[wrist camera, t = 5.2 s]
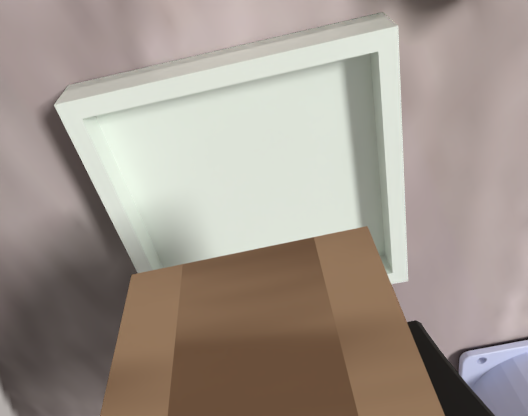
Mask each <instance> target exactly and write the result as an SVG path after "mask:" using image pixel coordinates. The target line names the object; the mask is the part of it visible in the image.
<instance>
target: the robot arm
mask: <svg viewBox="0 0 528 416" xmlns="http://www.w3.org/2000/svg"><path fill="white" fill-rule="evenodd" d="M407 324H408V326H409V329H410V331H411V334H412V336H413V339H414V341H415V344H416V346H417V348H418V351H419V353H420V356H421V358H422V361H423V363H424V366H425V368H426V370H427V373H428V375H429V378H430V380H431V383H432V385H433V388H434V390H435V392H436V395H437V397H438V400H439V402H440V405H441V407H442V410H443V412H444V414H445V416H528V340H524V341H518V342H513V343H508V344H502V345H497V346H492V347H486V348H481V349H476V350H470V351H467V352H464V353H463V354H462V355H461V356H460V359H459V374H458V372H457V371H456V370H455V369H454V367H453V366H452V365H451V364H450V362H449V361H448V360H447V359H446V357H445V356H444V355H443V353H442V352H441V351H440V350H439V348H438V347H437V346H436V344H435V343H434V341H433V340H432V339H431V337H430V336H429V334H428V333H427V332H426V330H425V329H424V327H423V326H422V324H421V323H420V322H418V321H411V322H407Z"/></svg>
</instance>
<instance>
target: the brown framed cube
mask: <svg viewBox="0 0 528 416" xmlns="http://www.w3.org/2000/svg"><path fill="white" fill-rule="evenodd" d="M100 416H445V414H444V412H443V410H442V407H441V405H440V402H439V400H438V397H437V395H436V392H435V390H434V388H433V385H432V383H431V380H430V378H429V375H428V373H427V370H426V368H425V366H424V363H423V361H422V358H421V356H420V353H419V351H418V348H417V346H416V344H415V341H414V339H413V336H412V334H411V331H410V329H409V326H408V324H407V322H406V319H405V317H404V314H403V312H402V309H401V307H400V304H399V302H398V299H397V297H396V295H395V292H394V290H393V287H392V285H391V282H390V280H389V277H388V275H387V273H386V270H385V268H384V265H383V263H382V260H381V258H380V255H379V253H378V251H377V248H376V246H375V243H374V241H373V238H372V236H371V233H370V231H369V229H368V226H365V227H360V228H356V229H351V230H346V231H341V232H336V233H331V234H326V235H322V236H317V237H312V238H307V239H302V240H297V241H292V242H288V243H283V244H278V245H273V246H268V247H263V248H258V249H254V250H249V251H244V252H239V253H234V254H229V255H224V256H220V257H215V258H210V259H205V260H200V261H195V262H191V263H186V264H181V265H176V266H171V267H166V268H161V269H157V270H152V271H147V272H142V273H137V274H132V275H131V279H130V284H129V288H128V293H127V297H126V302H125V306H124V311H123V315H122V320H121V324H120V329H119V333H118V338H117V342H116V347H115V351H114V356H113V360H112V364H111V369H110V373H109V378H108V382H107V387H106V391H105V396H104V400H103V405H102V409H101V414H100Z"/></svg>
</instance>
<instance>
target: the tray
mask: <svg viewBox="0 0 528 416" xmlns="http://www.w3.org/2000/svg"><path fill="white" fill-rule="evenodd" d="M54 106H55V108H56V110H57V112H58V114H59V116H60V118H61V120H62V122H63V124H64V126H65V128H66V130H67V132H68V134H69V136H70V138H71V140H72V142H73V144H74V146H75V148H76V150H77V152H78V154H79V156H80V158H81V160H82V162H83V164H84V166H85V168H86V170H87V172H88V174H89V176H90V178H91V180H92V182H93V184H94V186H95V188H96V190H97V192H98V194H99V196H100V198H101V200H102V202H103V204H104V206H105V208H106V210H107V212H108V214H109V216H110V218H111V221H112V223H113V225H114V227H115V229H116V231H117V233H118V235H119V237H120V239H121V241H122V243H123V245H124V247H125V249H126V251H127V253H128V255H129V257H130V259H131V261H132V263H133V265H134V267H135V269H136V271H137V273H142V272H147V271H152V270H157V269H161V268H166V267H171V266H176V265H181V264H186V263H191V262H195V261H200V260H205V259H210V258H215V257H220V256H224V255H229V254H234V253H239V252H244V251H249V250H254V249H258V248H263V247H268V246H273V245H278V244H283V243H288V242H292V241H297V240H302V239H307V238H312V237H317V236H322V235H326V234H331V233H336V232H341V231H346V230H351V229H356V228H360V227H365V226H368V229H369V231H370V233H371V236H372V238H373V241H374V243H375V246H376V248H377V251H378V253H379V255H380V258H381V260H382V263H383V265H384V268H385V270H386V273H387V275H388V277H389V280H390V282H391V284H395V283H400V282H405V281H408V265H407V240H406V214H405V189H404V163H403V138H402V112H401V87H400V62H399V36H398V25H397V24H396V23H394V22H393V21H392V20H391V19H390V18H389V17H387V16H386V15H385V14H384V13H383V12H381V13H377V14H373V15H368V16H364V17H360V18H356V19H351V20H347V21H343V22H338V23H334V24H330V25H325V26H321V27H317V28H313V29H308V30H304V31H300V32H295V33H291V34H287V35H282V36H278V37H274V38H270V39H265V40H261V41H257V42H252V43H248V44H244V45H239V46H235V47H231V48H227V49H222V50H218V51H214V52H209V53H205V54H201V55H196V56H192V57H188V58H184V59H179V60H175V61H171V62H166V63H162V64H158V65H153V66H149V67H145V68H141V69H136V70H132V71H128V72H123V73H119V74H115V75H110V76H106V77H102V78H98V79H93V80H89V81H85V82H80V83H76V84H72V85H68V86H67V88H66V89H65V91H64V92H63V93H62V95H61V96H60V97H59V99H58V100H57V101H56V103H55V104H54Z"/></svg>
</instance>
